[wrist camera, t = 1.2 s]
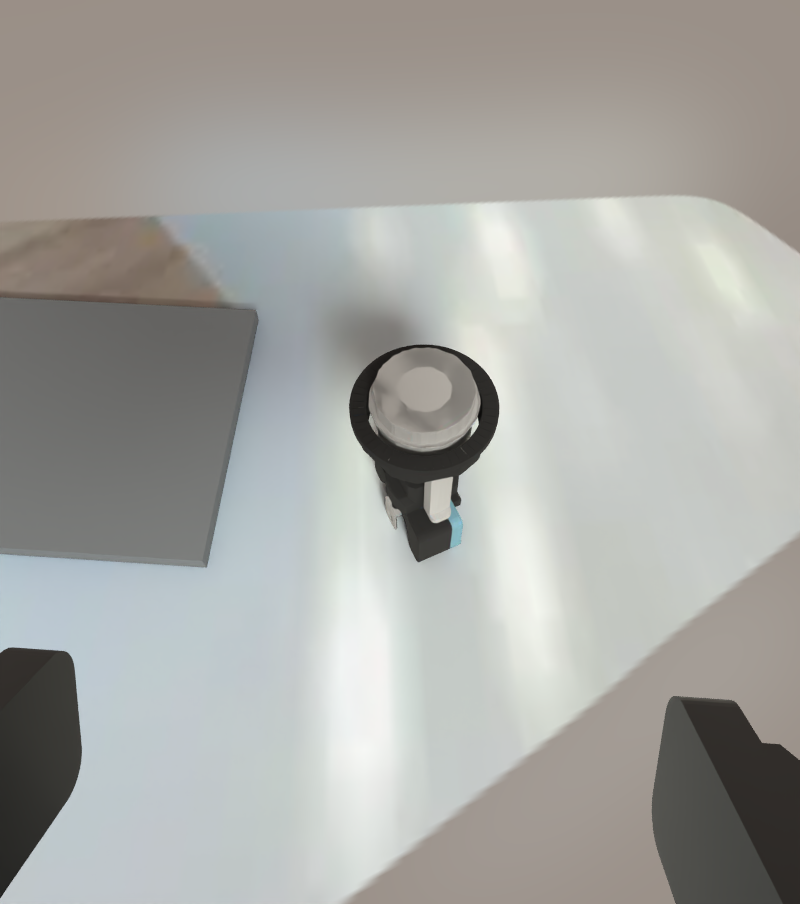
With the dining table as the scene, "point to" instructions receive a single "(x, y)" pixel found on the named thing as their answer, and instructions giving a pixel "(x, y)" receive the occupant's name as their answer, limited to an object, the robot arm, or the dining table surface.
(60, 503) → the rubber mat
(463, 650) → the dining table surface
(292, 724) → the dining table surface
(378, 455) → the push button
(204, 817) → the dining table surface
